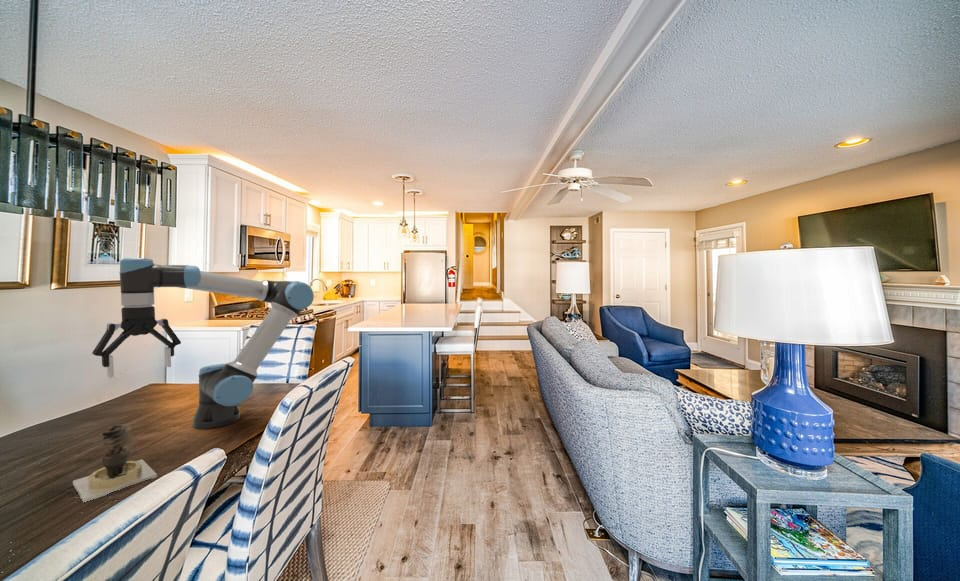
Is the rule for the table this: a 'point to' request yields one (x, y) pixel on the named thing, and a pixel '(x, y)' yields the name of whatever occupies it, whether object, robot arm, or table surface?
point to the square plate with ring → (112, 480)
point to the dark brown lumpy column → (116, 448)
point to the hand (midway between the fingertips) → (140, 371)
